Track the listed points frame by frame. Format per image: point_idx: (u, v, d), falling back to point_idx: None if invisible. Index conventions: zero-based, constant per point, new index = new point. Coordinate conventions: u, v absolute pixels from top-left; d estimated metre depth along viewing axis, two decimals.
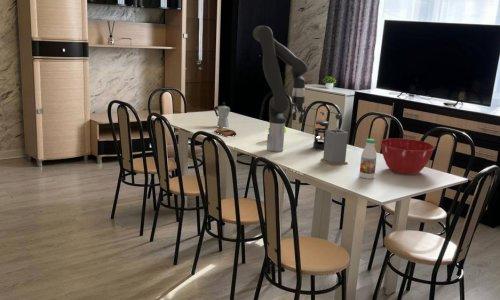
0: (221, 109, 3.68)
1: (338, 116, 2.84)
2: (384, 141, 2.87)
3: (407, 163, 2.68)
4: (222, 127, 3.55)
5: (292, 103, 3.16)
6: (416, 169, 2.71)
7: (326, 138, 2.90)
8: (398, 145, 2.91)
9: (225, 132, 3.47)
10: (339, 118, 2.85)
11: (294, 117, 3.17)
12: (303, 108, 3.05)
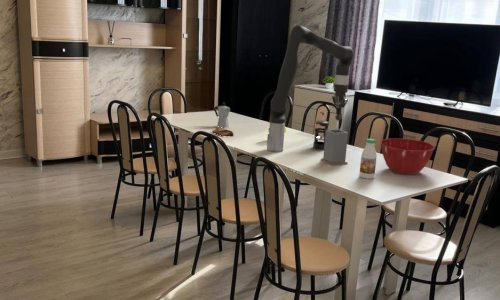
0: (221, 109, 3.68)
1: (338, 117, 2.84)
2: (384, 141, 2.87)
3: (407, 163, 2.68)
4: (220, 127, 3.54)
5: (333, 96, 2.88)
6: (416, 169, 2.71)
7: (326, 138, 2.90)
8: (398, 145, 2.91)
9: (222, 132, 3.46)
10: (339, 119, 2.85)
11: None
12: (345, 101, 2.79)
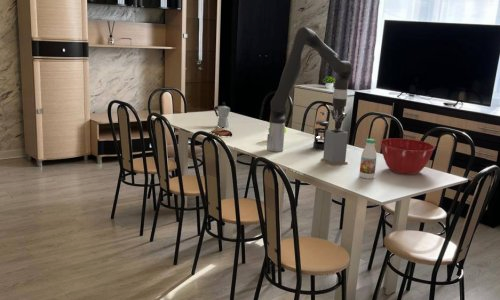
0: (221, 109, 3.68)
1: (337, 130, 2.86)
2: (384, 141, 2.87)
3: (407, 163, 2.68)
4: None
5: None
6: (416, 169, 2.71)
7: (326, 138, 2.90)
8: (398, 145, 2.91)
9: (221, 132, 3.45)
10: (338, 132, 2.87)
11: None
12: (343, 115, 2.80)
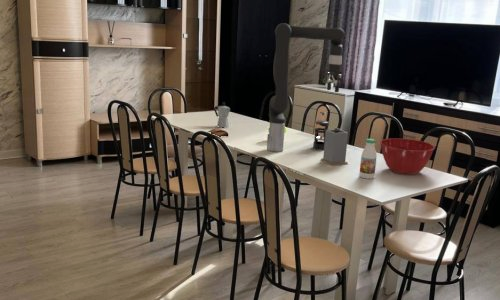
0: (221, 109, 3.68)
1: (337, 130, 2.86)
2: (384, 141, 2.87)
3: (407, 163, 2.68)
4: None
5: (327, 72, 3.05)
6: (416, 169, 2.71)
7: (326, 138, 2.90)
8: (398, 145, 2.91)
9: (217, 132, 3.44)
10: (338, 132, 2.87)
11: (329, 87, 3.06)
12: (340, 76, 2.94)
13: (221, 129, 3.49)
